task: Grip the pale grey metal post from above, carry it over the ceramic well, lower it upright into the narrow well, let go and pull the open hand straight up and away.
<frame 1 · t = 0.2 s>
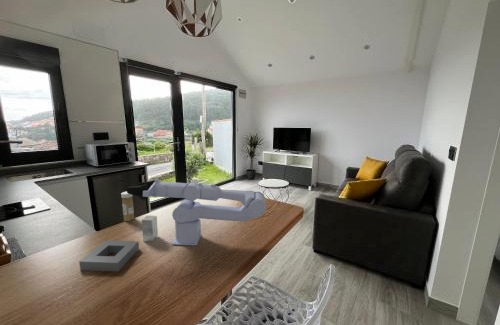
hand: (133, 187, 81), 21 cm above the table, tool horizontal, fingers open, 7 cm apart
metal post: (150, 238, 85), on the table
sprinkles bottle: (129, 219, 100), on the table
well: (112, 258, 72), on the table
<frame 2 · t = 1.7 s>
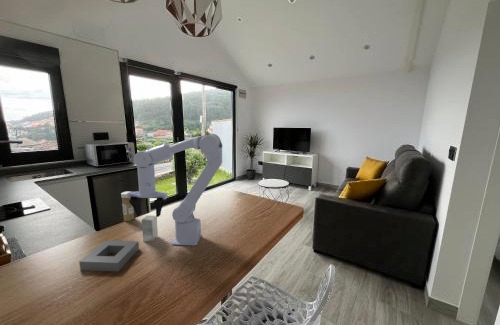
hand: (148, 215, 83), 10 cm above the table, tool pointing down, fingers open, 7 cm apart
nothing on the table moved.
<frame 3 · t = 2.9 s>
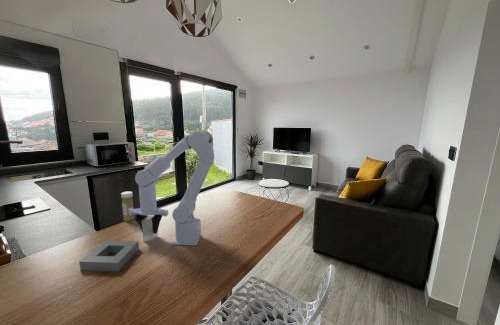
hand: (150, 232, 84), 3 cm above the table, tool pointing down, fingers closed on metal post, 4 cm apart
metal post: (150, 238, 85), on the table, touching gripper
everything else where it was.
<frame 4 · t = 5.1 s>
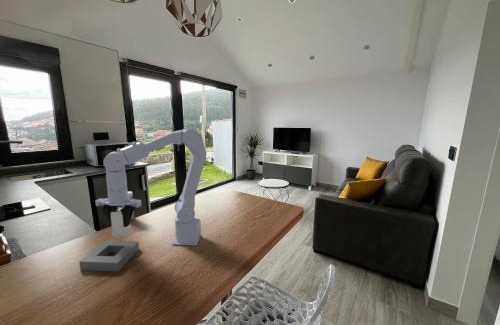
hand: (120, 225, 73), 10 cm above the table, tool pointing down, fingers closed on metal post, 4 cm apart
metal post: (122, 234, 74), point 7 cm above the table, touching gripper
everything else where it was.
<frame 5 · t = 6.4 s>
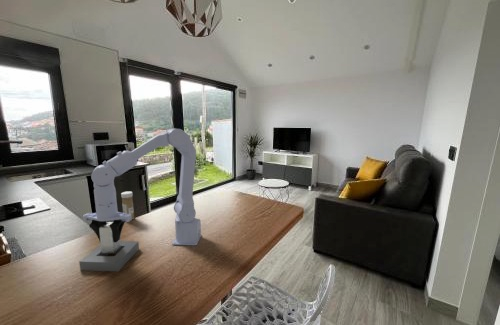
hand: (110, 240, 71), 7 cm above the table, tool pointing down, fingers closed on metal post, 4 cm apart
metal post: (111, 249, 71), point 3 cm above the table, touching gripper
everything else where it was.
when the fingers open (4 cm above the table, at t = 7.5 s): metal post stays where it is, resting in well.
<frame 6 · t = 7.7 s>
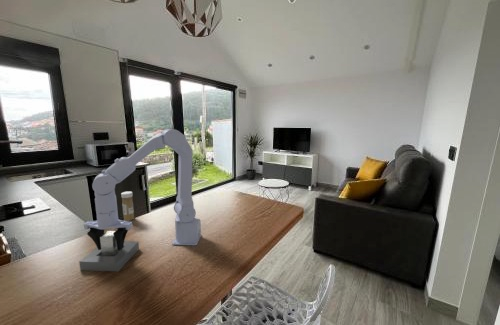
hand: (111, 248, 71), 4 cm above the table, tool pointing down, fingers open, 6 cm apart
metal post: (112, 258, 72), resting in well
everything else where it was.
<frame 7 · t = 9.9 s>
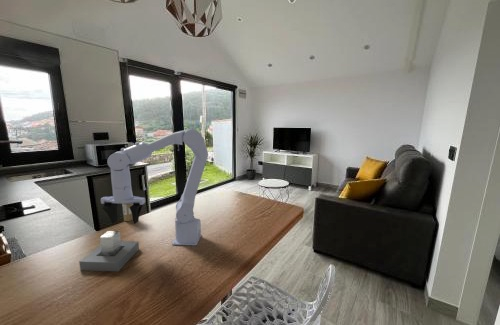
hand: (125, 222, 76), 10 cm above the table, tool pointing down, fingers open, 7 cm apart
nothing on the table moved.
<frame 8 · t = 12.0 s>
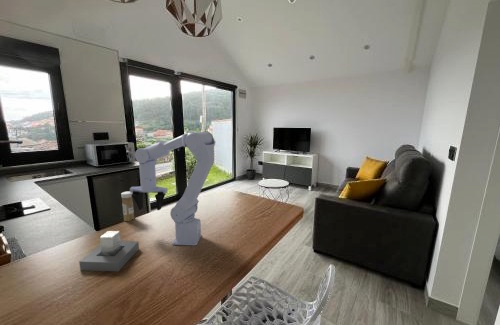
hand: (150, 209, 88), 10 cm above the table, tool pointing down, fingers open, 7 cm apart
nothing on the table moved.
at the end: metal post 0.2 cm off-centre on the well, point 0.0 cm above the well's base; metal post tilted 0°; the gripper is holding nothing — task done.
